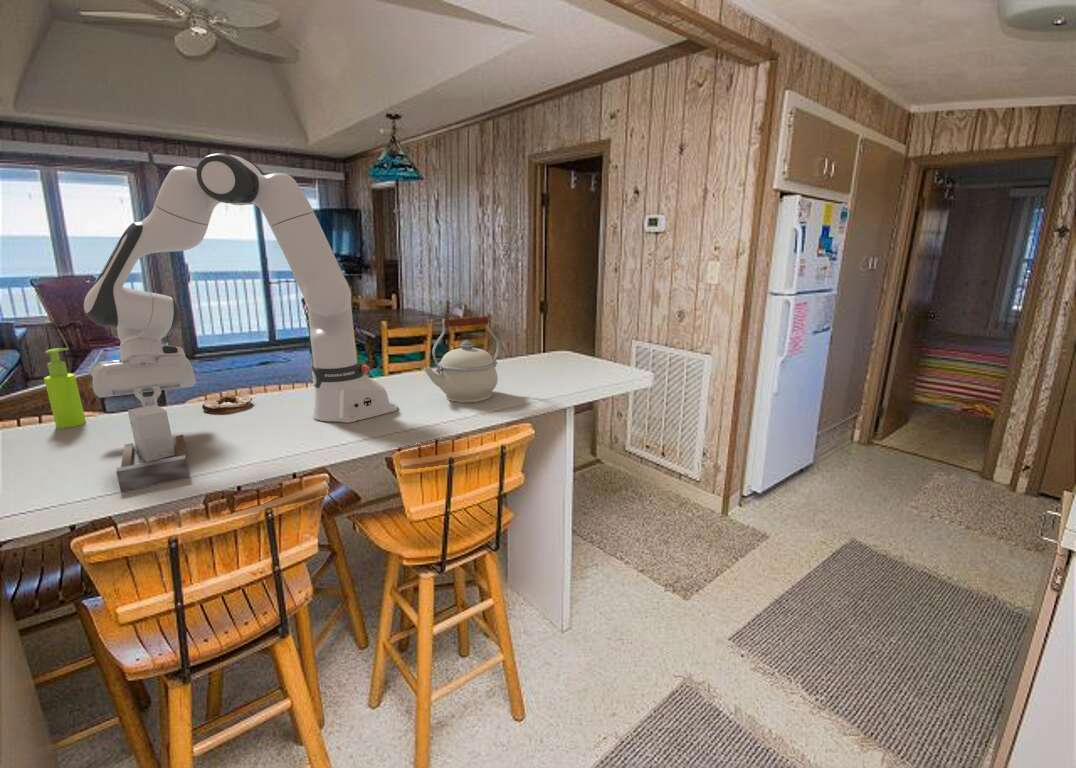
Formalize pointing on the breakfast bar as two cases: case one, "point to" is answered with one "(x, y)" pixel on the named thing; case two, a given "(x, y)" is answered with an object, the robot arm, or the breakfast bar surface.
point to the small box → (151, 432)
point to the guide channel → (151, 468)
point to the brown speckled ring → (227, 404)
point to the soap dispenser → (63, 393)
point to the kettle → (465, 367)
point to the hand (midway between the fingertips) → (149, 404)
